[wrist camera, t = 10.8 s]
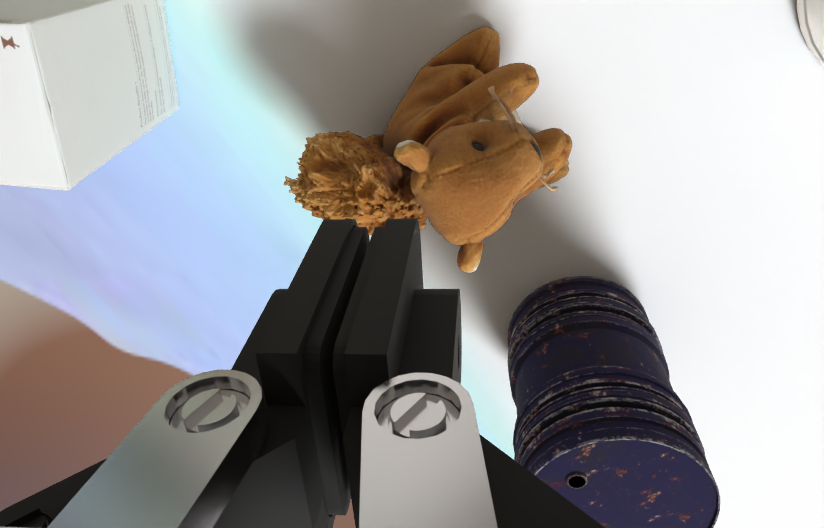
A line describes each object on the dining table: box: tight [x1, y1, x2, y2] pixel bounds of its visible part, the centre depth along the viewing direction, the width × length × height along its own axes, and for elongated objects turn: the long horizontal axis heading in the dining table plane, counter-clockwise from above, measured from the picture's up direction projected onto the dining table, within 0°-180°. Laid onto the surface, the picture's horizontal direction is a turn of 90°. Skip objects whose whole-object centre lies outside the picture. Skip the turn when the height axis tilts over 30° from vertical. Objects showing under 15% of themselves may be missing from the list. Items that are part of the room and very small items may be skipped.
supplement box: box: [0, 0, 180, 191], centre depth 33 cm, size 7×7×13 cm
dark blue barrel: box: [508, 276, 720, 528], centre depth 39 cm, size 10×10×15 cm
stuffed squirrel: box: [284, 27, 572, 272], centre depth 34 cm, size 10×14×13 cm
